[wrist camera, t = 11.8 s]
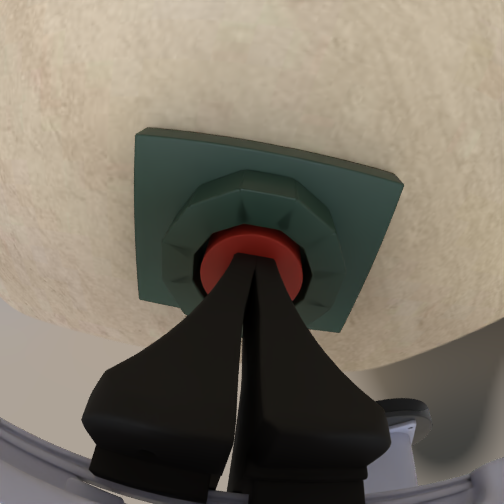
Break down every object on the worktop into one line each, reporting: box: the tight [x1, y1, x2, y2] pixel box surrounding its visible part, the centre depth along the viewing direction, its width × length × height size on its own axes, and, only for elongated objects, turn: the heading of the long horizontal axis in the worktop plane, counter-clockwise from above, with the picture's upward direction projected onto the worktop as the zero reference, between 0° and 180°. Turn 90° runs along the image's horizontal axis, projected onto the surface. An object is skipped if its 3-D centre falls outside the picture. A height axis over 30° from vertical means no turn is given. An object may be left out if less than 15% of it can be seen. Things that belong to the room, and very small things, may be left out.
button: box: [200, 224, 303, 301], centre depth 12 cm, size 4×4×2 cm
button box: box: [134, 128, 404, 338], centre depth 12 cm, size 10×8×3 cm
